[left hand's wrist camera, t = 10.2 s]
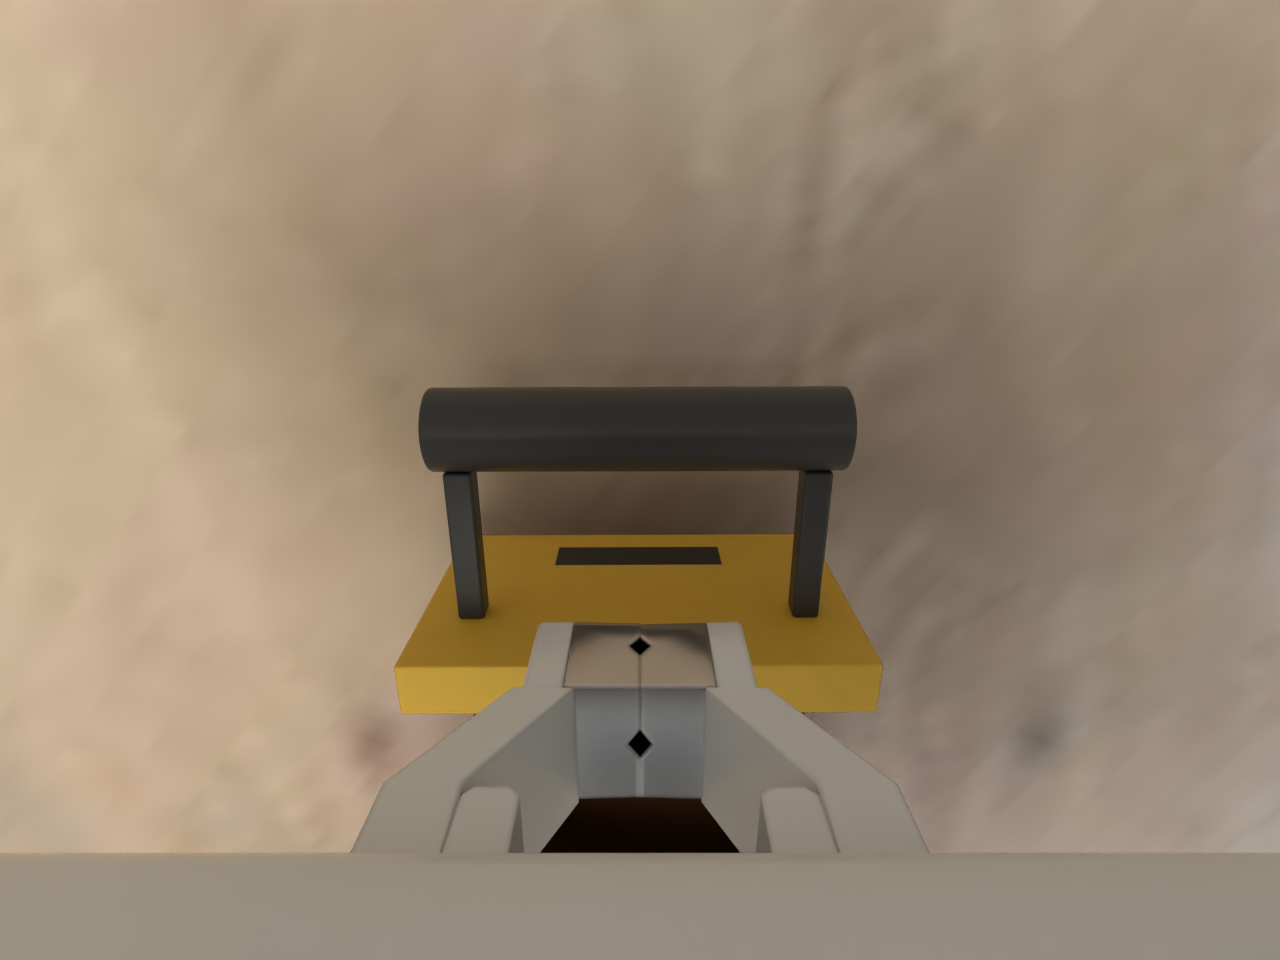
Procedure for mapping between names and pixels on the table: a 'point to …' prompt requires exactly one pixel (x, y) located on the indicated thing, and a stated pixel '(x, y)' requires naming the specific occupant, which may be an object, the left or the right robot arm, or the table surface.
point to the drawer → (638, 562)
